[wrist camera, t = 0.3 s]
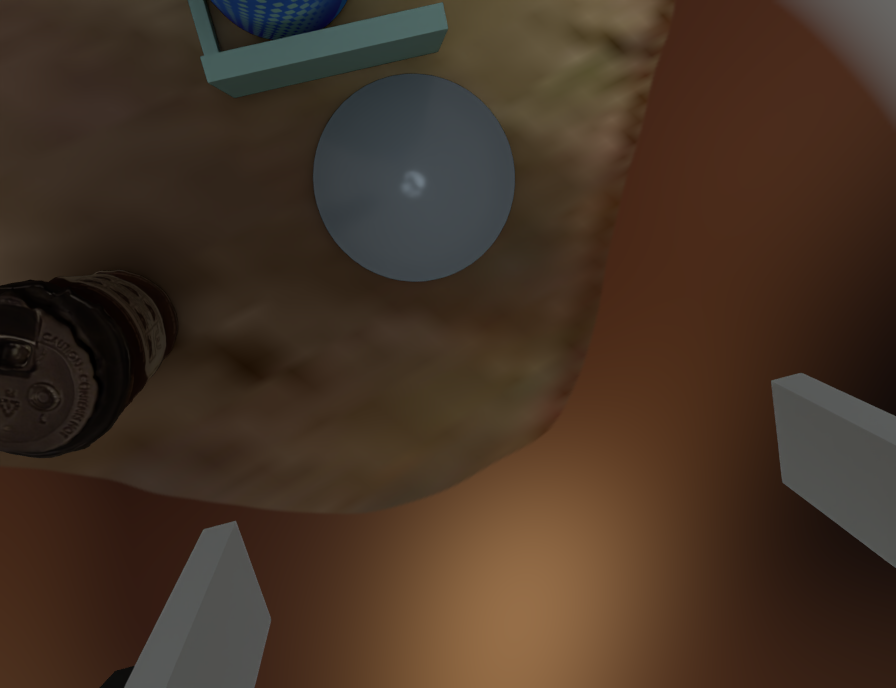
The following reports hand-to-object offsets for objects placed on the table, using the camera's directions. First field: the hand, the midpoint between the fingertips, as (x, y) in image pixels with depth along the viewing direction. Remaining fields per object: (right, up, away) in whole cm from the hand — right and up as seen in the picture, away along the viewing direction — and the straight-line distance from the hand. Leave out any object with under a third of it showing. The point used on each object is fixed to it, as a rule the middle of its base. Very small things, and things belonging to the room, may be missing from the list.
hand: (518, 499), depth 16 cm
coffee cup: (-21, +5, +25) cm, 33 cm away
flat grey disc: (-4, +14, +24) cm, 28 cm away
